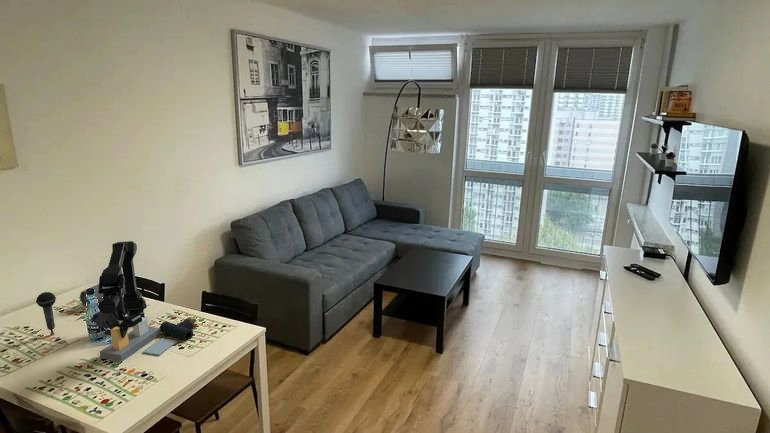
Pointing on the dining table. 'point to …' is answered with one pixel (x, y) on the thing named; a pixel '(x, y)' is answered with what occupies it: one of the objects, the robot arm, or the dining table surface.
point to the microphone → (47, 308)
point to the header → (130, 345)
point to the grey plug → (141, 327)
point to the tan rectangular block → (118, 339)
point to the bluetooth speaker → (99, 296)
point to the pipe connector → (179, 329)
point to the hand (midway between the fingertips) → (119, 337)
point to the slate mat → (160, 346)
